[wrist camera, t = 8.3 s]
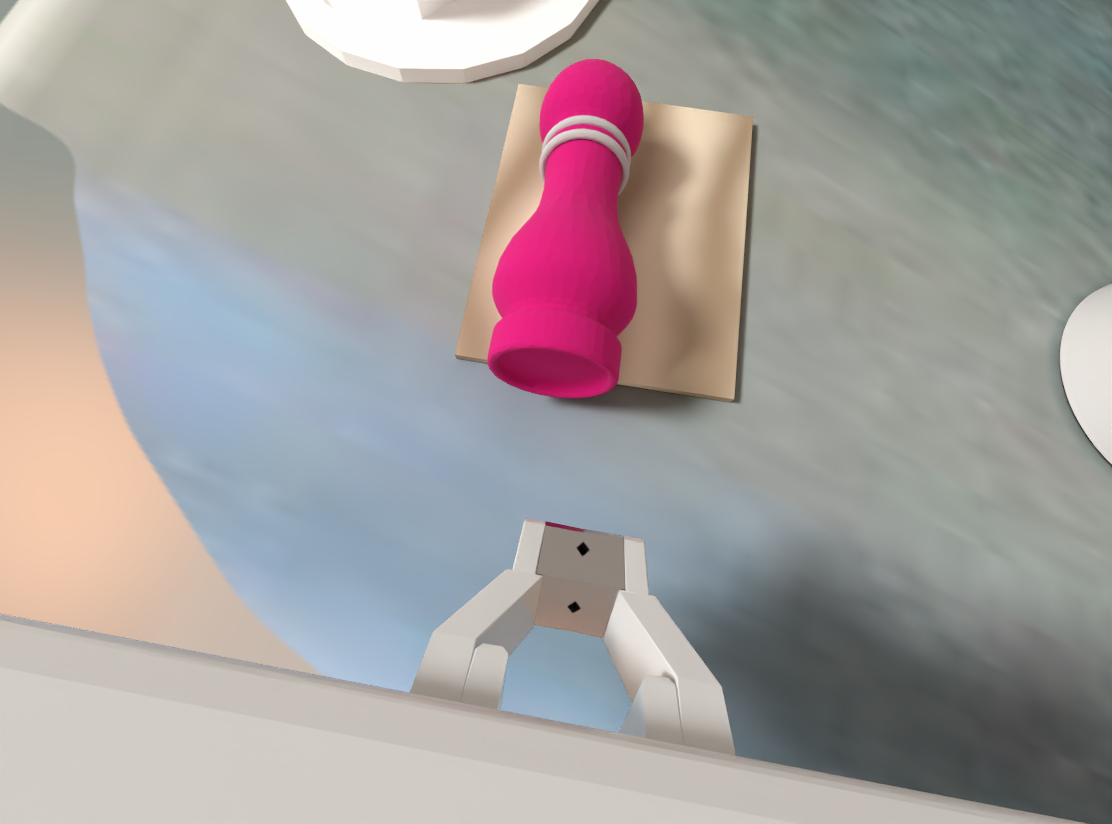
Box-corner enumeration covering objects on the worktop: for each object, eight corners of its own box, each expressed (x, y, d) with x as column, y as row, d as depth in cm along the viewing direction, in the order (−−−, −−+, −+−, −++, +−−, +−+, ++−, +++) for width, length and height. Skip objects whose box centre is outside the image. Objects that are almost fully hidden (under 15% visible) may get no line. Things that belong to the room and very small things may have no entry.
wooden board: (749, 124, 30) (752, 116, 29) (730, 402, 25) (734, 399, 24) (519, 92, 30) (518, 83, 30) (457, 358, 25) (454, 354, 25)
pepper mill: (663, 380, 19) (686, 59, 25) (516, 320, 16) (583, -33, 22) (574, 411, 25) (610, 147, 31) (455, 372, 22) (520, 86, 28)
